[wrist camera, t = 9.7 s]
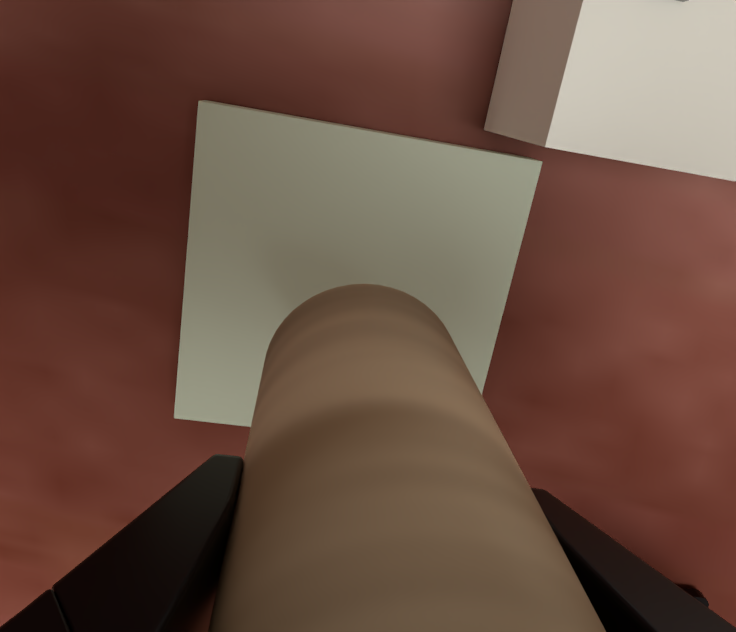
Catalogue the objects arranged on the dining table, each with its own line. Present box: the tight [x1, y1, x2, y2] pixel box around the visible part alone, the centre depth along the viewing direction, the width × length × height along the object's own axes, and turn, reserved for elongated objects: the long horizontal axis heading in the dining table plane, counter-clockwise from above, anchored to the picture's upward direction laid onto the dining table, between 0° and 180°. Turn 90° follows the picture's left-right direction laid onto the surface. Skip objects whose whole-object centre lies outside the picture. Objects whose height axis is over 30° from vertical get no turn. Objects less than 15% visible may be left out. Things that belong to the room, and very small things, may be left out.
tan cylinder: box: [208, 284, 606, 632], centre depth 8 cm, size 4×4×10 cm
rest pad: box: [174, 100, 542, 427], centre depth 18 cm, size 9×9×1 cm
